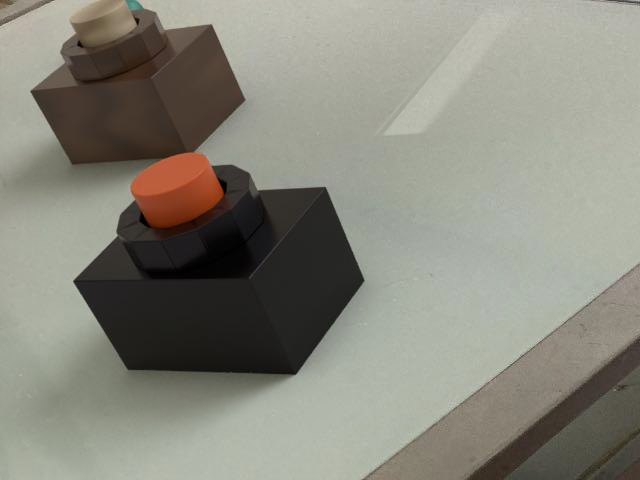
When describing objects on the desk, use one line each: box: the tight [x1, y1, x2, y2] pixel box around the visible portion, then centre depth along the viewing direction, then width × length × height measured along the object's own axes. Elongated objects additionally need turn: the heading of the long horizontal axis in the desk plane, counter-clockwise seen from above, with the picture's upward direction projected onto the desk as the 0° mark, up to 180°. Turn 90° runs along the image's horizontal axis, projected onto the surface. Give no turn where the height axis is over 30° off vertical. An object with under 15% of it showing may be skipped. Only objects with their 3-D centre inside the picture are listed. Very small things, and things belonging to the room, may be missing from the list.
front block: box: [72, 163, 365, 376], centre depth 59 cm, size 11×8×8 cm
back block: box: [29, 8, 246, 165], centre depth 82 cm, size 11×8×8 cm
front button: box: [129, 151, 224, 228], centre depth 57 cm, size 4×4×2 cm
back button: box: [68, 0, 137, 48], centre depth 79 cm, size 4×4×2 cm
